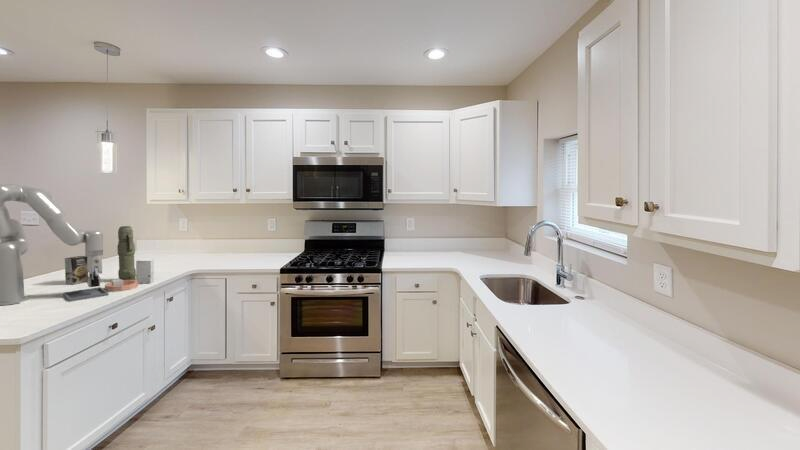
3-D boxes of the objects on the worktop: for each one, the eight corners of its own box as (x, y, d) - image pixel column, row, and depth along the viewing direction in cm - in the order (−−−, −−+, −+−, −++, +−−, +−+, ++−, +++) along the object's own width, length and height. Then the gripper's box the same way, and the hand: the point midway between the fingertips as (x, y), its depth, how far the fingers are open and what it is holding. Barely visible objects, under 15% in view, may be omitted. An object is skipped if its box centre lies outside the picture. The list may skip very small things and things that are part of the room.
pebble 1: (89, 287, 197) (89, 278, 197) (87, 285, 200) (87, 276, 200) (100, 286, 201) (100, 277, 200) (98, 284, 204) (98, 275, 203)
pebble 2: (114, 290, 208) (113, 281, 207) (111, 288, 210) (111, 280, 210) (123, 288, 211) (123, 280, 211) (121, 287, 214) (120, 279, 213)
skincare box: (135, 284, 225) (134, 260, 223) (139, 281, 231) (138, 258, 229) (151, 283, 227) (150, 260, 226) (154, 281, 233) (154, 258, 232)
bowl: (109, 293, 203) (109, 287, 203) (102, 288, 212) (102, 283, 212) (141, 288, 215) (140, 283, 215) (132, 284, 224) (132, 278, 224)
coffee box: (73, 284, 219) (72, 258, 217) (65, 284, 220) (63, 257, 218) (89, 281, 227) (88, 256, 226) (81, 280, 229) (79, 255, 227)
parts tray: (69, 302, 187) (69, 298, 186) (63, 296, 197) (63, 292, 196) (108, 296, 199) (108, 292, 199) (100, 290, 209) (100, 287, 209)
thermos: (126, 283, 226) (124, 227, 223) (114, 280, 230) (111, 226, 227) (140, 280, 234) (139, 226, 231) (128, 278, 238) (126, 225, 235)
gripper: (106, 254, 197) (106, 287, 198) (98, 250, 207) (98, 281, 209) (89, 255, 191) (88, 289, 192) (81, 251, 201) (81, 283, 203)
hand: (93, 285), depth 200 cm, fingers closed on pebble 1, 4 cm apart
